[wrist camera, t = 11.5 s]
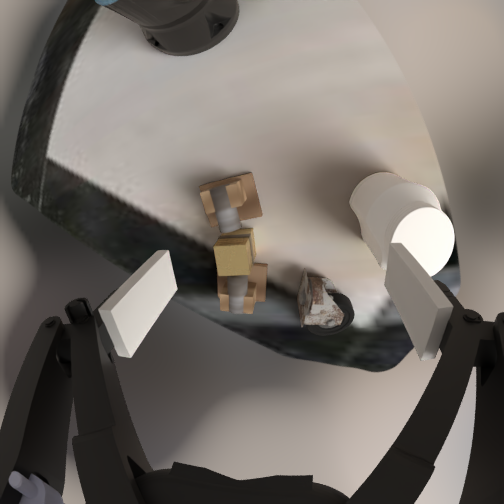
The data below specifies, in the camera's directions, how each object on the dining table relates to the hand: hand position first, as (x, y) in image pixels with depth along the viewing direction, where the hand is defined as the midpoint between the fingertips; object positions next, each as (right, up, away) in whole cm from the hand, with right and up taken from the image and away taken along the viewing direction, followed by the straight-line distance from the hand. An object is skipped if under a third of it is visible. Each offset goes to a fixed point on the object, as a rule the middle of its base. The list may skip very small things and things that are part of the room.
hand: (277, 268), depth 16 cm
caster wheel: (+11, -7, +30) cm, 33 cm away
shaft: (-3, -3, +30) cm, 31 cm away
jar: (+18, +7, +23) cm, 30 cm away
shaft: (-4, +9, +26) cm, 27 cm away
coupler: (-3, +2, +28) cm, 28 cm away
